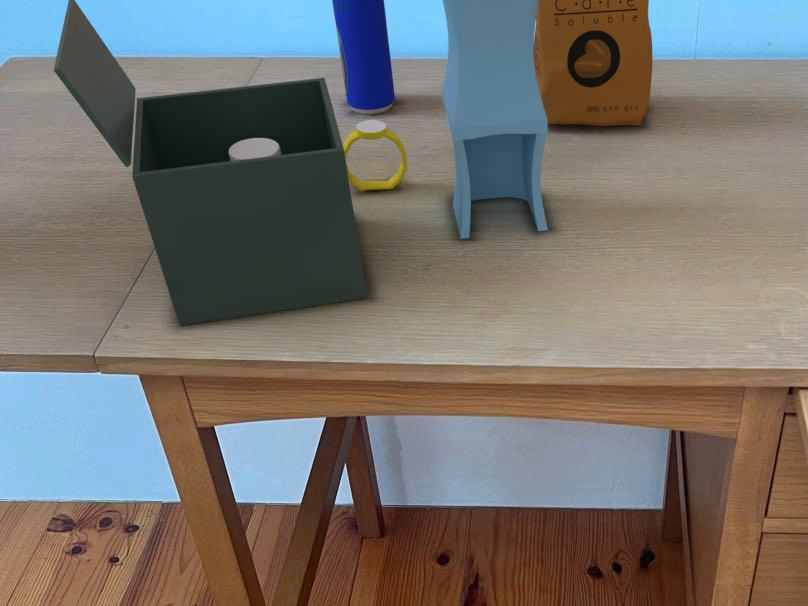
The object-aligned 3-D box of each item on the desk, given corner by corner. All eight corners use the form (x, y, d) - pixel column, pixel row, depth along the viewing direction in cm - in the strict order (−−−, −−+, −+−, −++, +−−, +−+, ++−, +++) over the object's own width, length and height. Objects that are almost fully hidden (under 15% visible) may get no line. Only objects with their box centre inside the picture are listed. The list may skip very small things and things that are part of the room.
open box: (179, 326, 80) (131, 175, 71) (178, 240, 89) (136, 98, 80) (367, 298, 82) (344, 150, 73) (347, 217, 92) (324, 77, 83)
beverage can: (357, 94, 111) (335, -58, 100) (401, 98, 110) (385, -55, 100) (341, 114, 108) (317, -42, 97) (387, 117, 107) (368, -39, 96)
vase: (533, 189, 95) (529, -46, 81) (548, 230, 90) (546, -14, 75) (450, 197, 94) (431, -40, 80) (460, 238, 89) (442, -7, 75)
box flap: (130, 165, 71) (126, 167, 71) (135, 88, 80) (131, 90, 80) (58, 67, 65) (53, 70, 65) (73, -3, 75) (68, 0, 75)
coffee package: (649, 136, 103) (666, -113, 87) (528, 136, 103) (523, -113, 88) (647, 97, 110) (661, -141, 94) (533, 96, 110) (529, -141, 95)
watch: (347, 198, 95) (337, 135, 90) (345, 184, 96) (335, 122, 92) (410, 191, 95) (403, 129, 91) (407, 178, 97) (400, 116, 93)
